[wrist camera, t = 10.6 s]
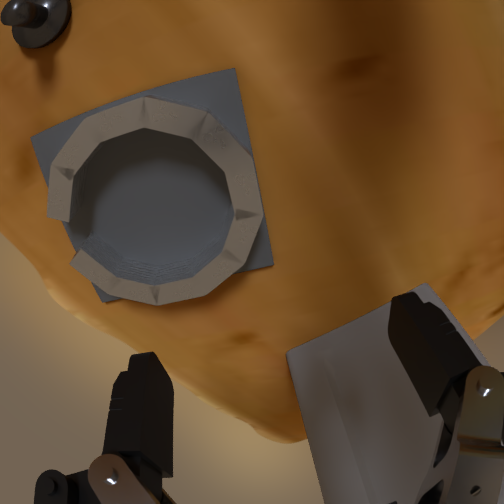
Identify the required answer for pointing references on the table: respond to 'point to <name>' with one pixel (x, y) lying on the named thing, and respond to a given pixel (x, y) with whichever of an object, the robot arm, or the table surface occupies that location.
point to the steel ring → (180, 272)
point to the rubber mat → (158, 182)
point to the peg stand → (36, 20)
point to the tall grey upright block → (367, 411)
